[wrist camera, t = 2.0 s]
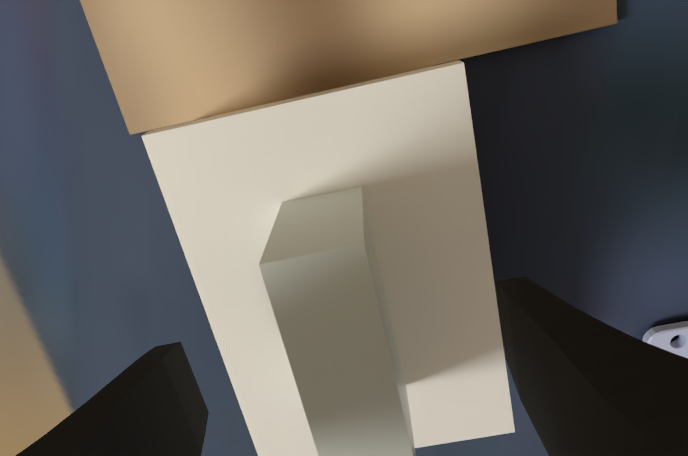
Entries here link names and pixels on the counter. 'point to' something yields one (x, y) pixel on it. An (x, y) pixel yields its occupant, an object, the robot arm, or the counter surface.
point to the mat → (299, 45)
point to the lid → (345, 264)
